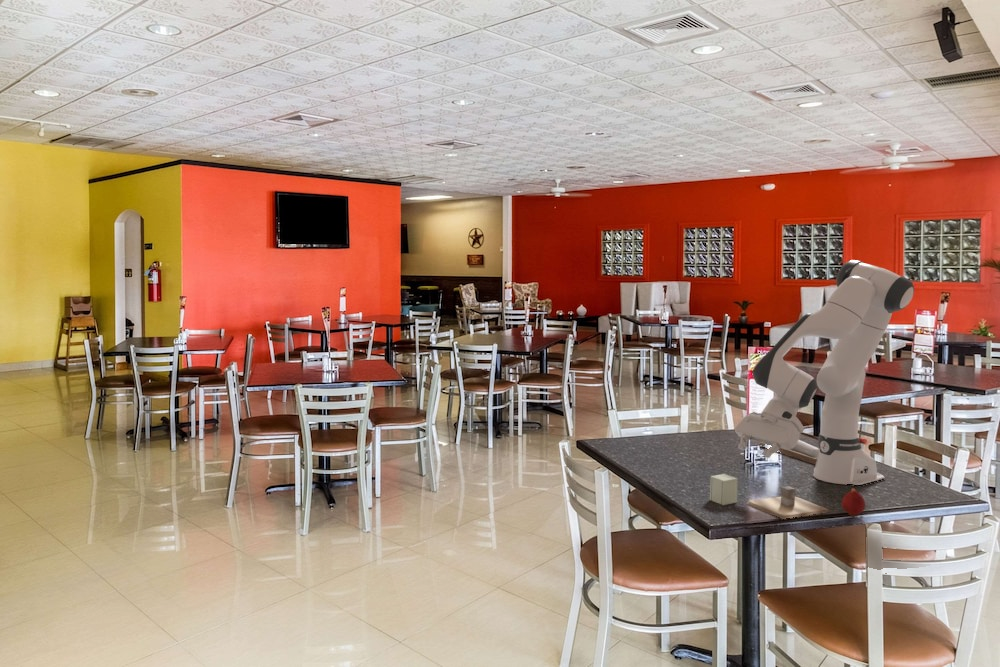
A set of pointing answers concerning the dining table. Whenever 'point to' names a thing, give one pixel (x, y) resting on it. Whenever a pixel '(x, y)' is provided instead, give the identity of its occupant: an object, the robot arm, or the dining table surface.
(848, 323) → the robot arm
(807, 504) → the post board
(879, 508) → the dining table surface
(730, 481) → the slotted sage cube
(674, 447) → the dining table surface
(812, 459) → the tube rack
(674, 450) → the dining table surface
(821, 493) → the dining table surface
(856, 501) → the onion
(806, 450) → the tube
